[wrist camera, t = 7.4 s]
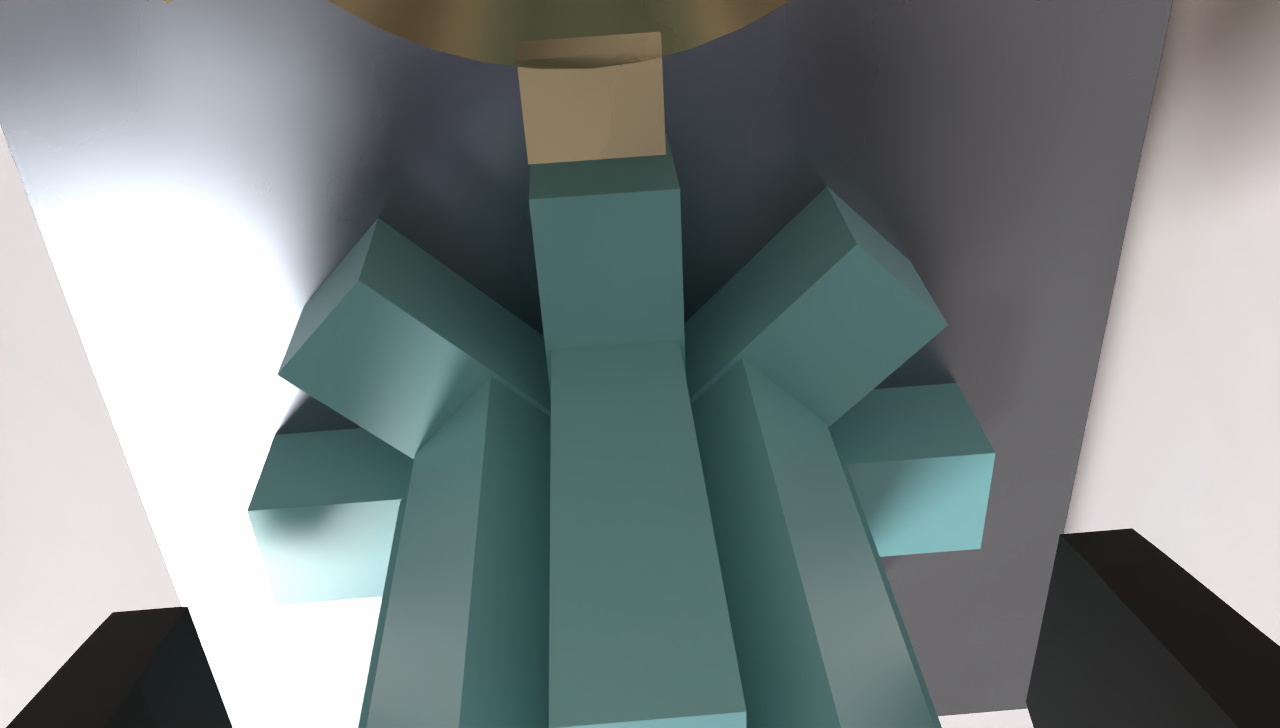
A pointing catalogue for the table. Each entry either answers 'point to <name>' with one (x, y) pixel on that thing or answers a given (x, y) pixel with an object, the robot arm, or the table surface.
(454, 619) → the gear
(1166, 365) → the table surface
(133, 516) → the table surface
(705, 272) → the carrier
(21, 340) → the table surface
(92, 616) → the table surface
